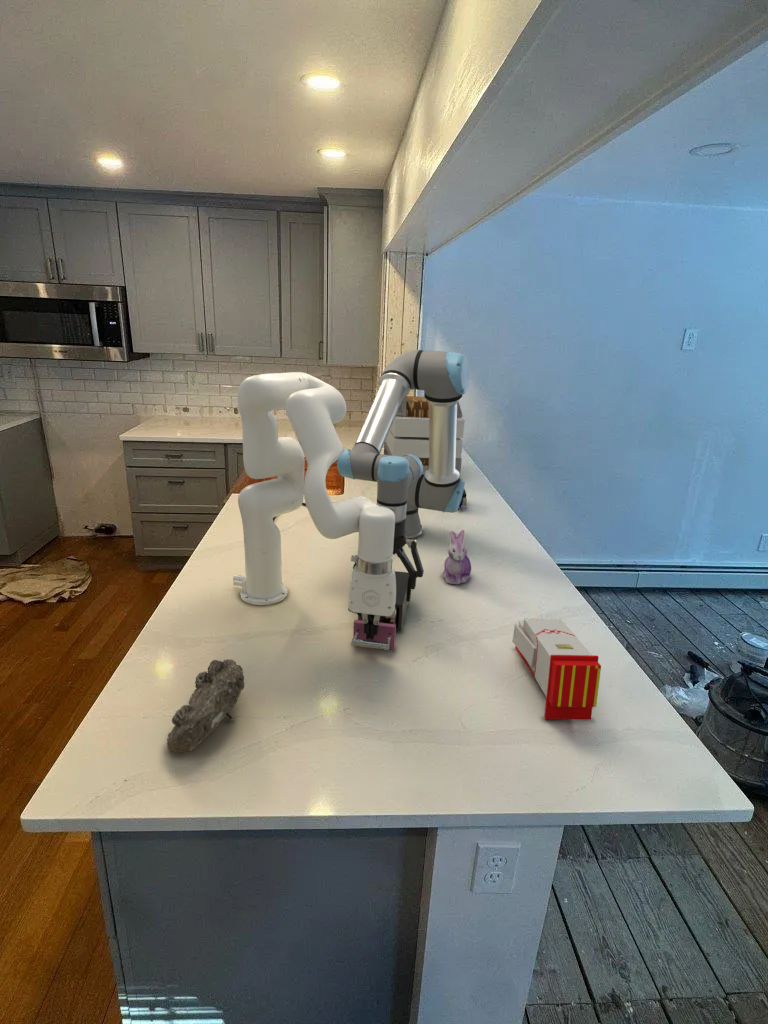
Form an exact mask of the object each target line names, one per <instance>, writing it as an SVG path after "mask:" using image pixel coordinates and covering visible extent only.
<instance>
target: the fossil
mask: <svg viewBox="0 0 768 1024" xmlns="http://www.w3.org/2000/svg"><path fill="white" fill-rule="evenodd" d="M243 670H244V669H243V667H242V665H240V664H237V662H236V661H235V660H234V659H232V658H231V659H227V658H226V659H224V660H223V661H222V660H217V659H212V660H211V661H210V663H209V665H208V666H207V671H201V672H199V673H198V674H197V675H196V676H195V680H194V684H195V685H194V687H195V689H194V690H193V693H192V694H191V697H190V698H189V700H188V704H184V705H182V706H181V707H180V709H177V710H176V711H175V713H174V715H173V716H172V718H171V723H172V724H173V727H172V730H171V731H170V732H168V734H167V738H166V741H167V742H166V745H167V749H168V750H169V751H173V752H174V753H176V754H178V753H182V752H188V751H189V752H192V751H193V750H195V748H196V747H197V746H199V744H200V743H201V742H203V741H204V740H205V739H206V738H207V737H208V736H209V735H210V734H211V733H212V732H214V730H215V729H217V727H218V726H219V724H220V722H221V721H222V720H223V719H224V718H225V716H226V717H227V719H229V720H233V717H232V715H230V714H229V710H230V709H231V708H234V706H235V704H236V703H237V702H238V699H239V697H240V695H241V693H242V691H243V690H245V689H244V688H245V675H244V671H243Z"/></svg>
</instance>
